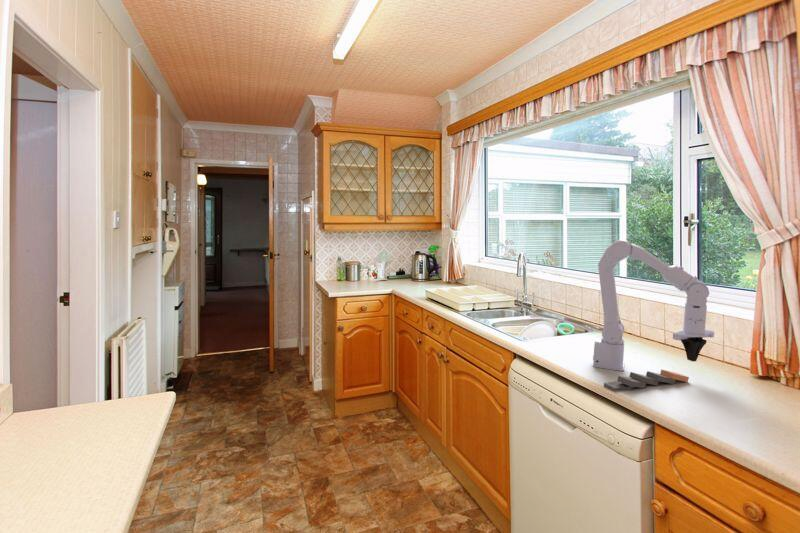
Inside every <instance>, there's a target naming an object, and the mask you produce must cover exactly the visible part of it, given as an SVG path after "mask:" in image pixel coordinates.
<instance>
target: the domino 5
mask: <svg viewBox="0 0 800 533" xmlns="http://www.w3.org/2000/svg"><path fill="white" fill-rule="evenodd" d="M659 372H660V373H659V374H661V375H664V376H666V377H669V378H672V379H675V381H682V382H685V383H688V382H689V379H690V377H689V376H687V375H683V374H681V373H678V372H675V371H670V370H665V369H660V371H659Z"/></svg>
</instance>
